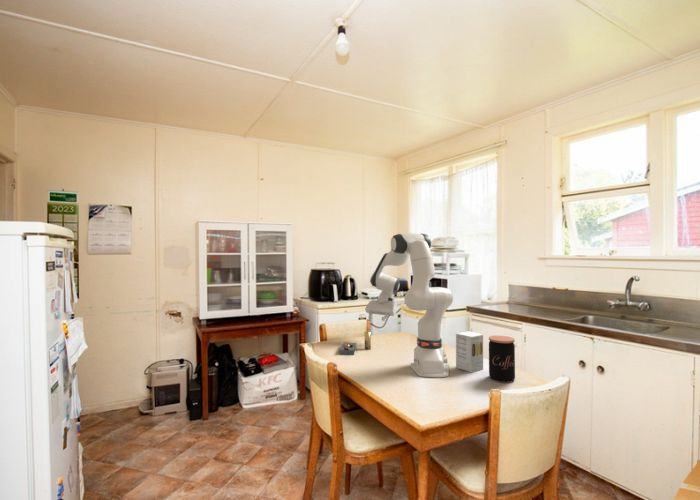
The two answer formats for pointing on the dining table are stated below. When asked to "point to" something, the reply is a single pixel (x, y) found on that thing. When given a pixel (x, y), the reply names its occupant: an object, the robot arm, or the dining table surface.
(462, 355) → the supplement box
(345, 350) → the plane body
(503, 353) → the coffee jar
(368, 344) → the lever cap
